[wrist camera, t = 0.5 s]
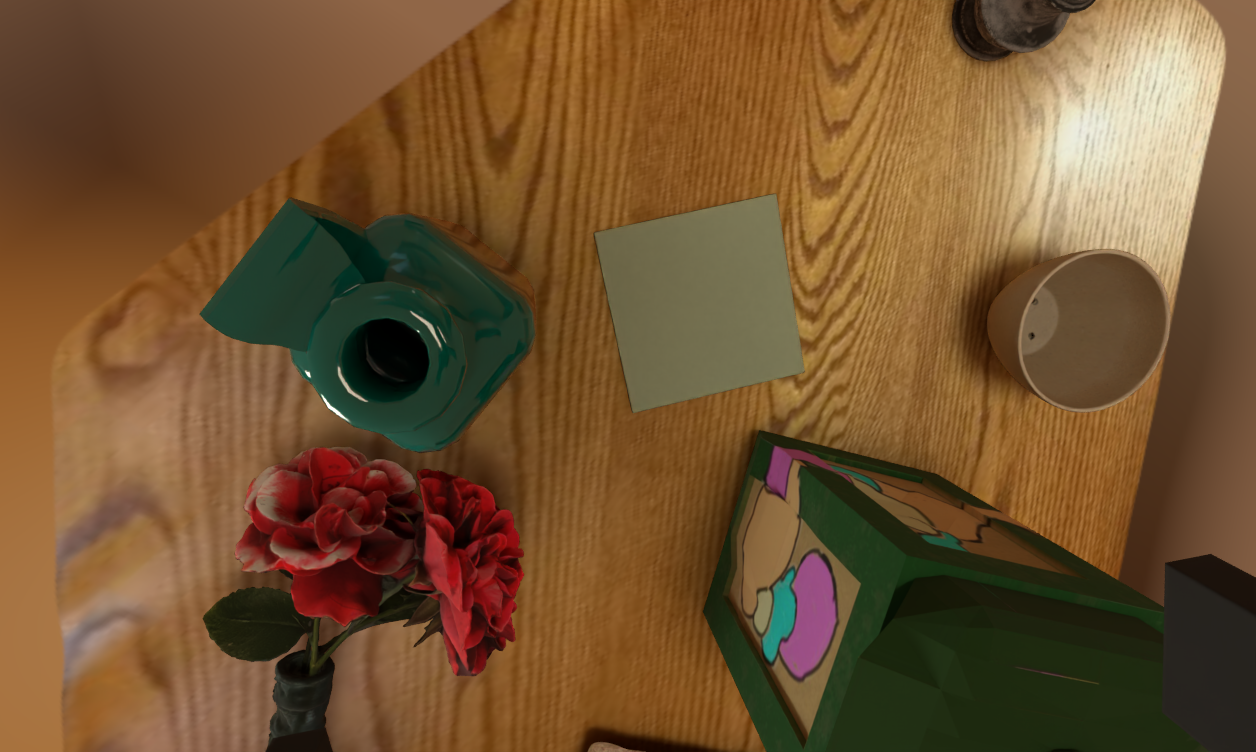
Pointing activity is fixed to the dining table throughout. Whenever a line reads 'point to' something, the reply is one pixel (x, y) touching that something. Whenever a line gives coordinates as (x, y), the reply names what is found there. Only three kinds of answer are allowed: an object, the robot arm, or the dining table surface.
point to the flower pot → (1082, 328)
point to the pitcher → (384, 318)
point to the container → (923, 619)
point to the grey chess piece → (1010, 25)
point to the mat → (701, 302)
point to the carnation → (365, 570)
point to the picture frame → (608, 748)
